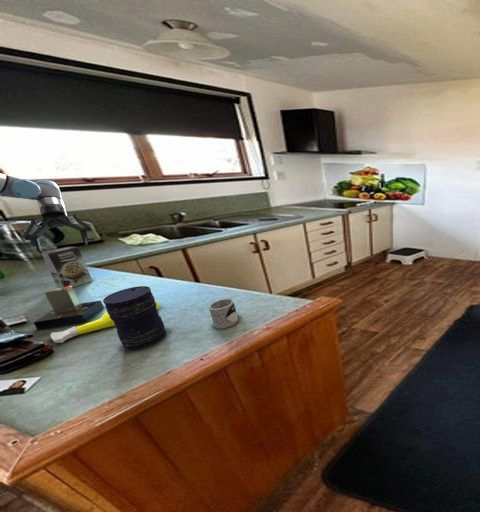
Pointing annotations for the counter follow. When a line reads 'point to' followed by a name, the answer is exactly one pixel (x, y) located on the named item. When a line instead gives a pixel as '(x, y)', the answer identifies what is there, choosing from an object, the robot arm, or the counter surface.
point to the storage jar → (135, 317)
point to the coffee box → (67, 267)
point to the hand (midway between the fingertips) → (63, 247)
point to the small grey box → (63, 299)
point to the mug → (223, 313)
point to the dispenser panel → (69, 316)
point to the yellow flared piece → (85, 328)
